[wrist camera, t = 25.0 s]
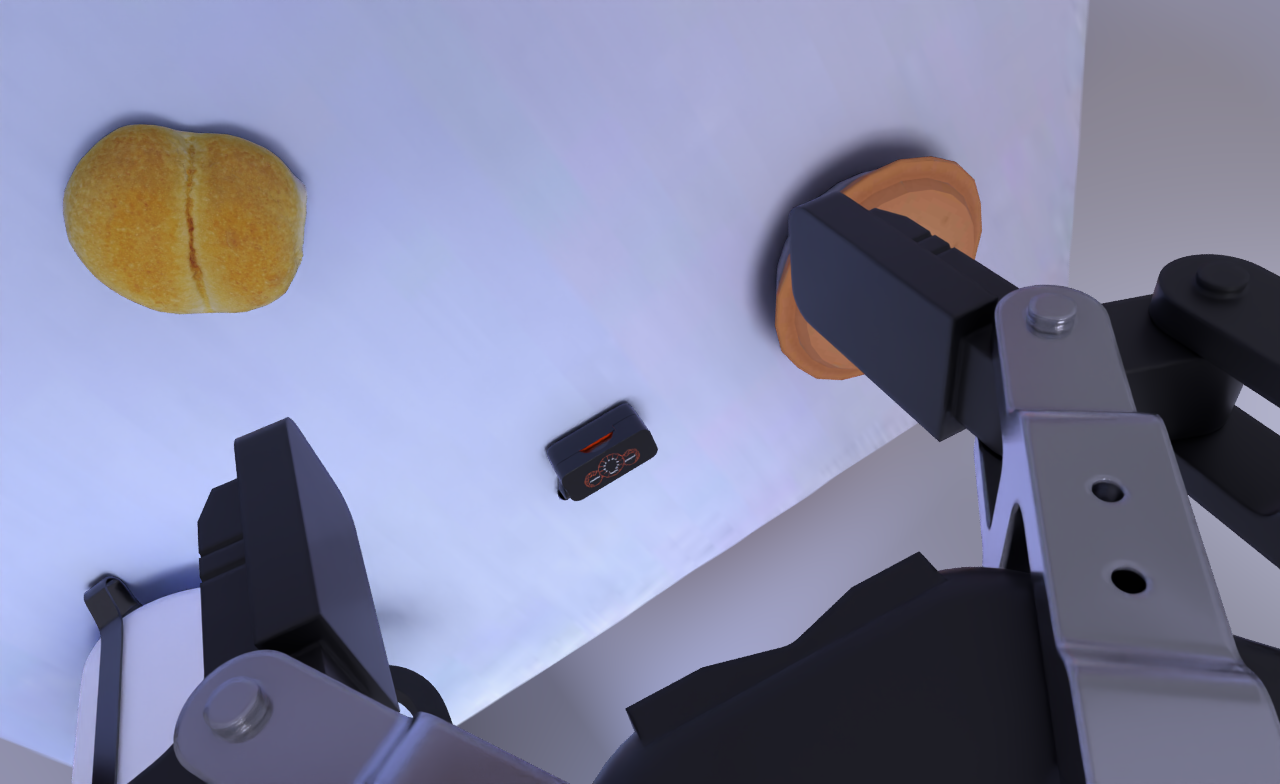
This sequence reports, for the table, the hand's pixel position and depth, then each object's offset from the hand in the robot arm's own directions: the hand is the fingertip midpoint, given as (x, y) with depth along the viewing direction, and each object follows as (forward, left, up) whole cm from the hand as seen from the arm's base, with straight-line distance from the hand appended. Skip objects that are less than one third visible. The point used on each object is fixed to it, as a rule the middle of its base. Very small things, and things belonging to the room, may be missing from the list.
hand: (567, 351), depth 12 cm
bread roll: (-8, -8, -28) cm, 30 cm away
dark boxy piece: (+7, -30, -28) cm, 42 cm away
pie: (+27, -22, -28) cm, 45 cm away
